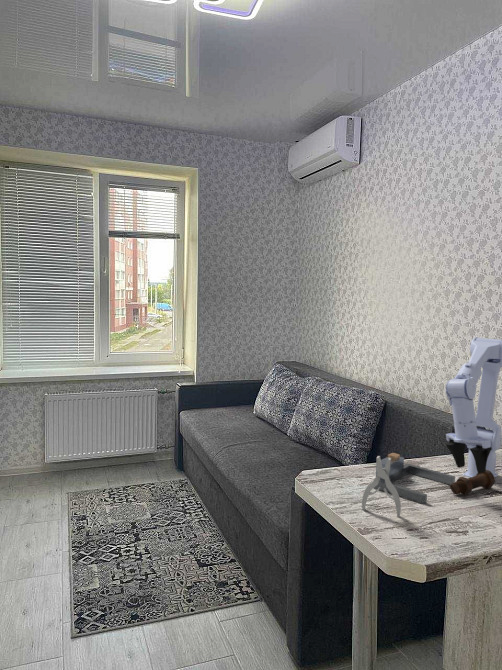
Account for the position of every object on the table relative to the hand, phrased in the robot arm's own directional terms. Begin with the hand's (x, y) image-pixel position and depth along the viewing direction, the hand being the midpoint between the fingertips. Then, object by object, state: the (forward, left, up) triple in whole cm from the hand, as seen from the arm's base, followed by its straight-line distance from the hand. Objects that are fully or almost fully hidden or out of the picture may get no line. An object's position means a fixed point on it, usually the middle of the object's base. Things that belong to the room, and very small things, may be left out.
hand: (471, 469), depth 143 cm
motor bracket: (+3, -14, -9) cm, 16 cm away
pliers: (+27, -13, -9) cm, 31 cm away
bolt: (+1, -4, -7) cm, 8 cm away
